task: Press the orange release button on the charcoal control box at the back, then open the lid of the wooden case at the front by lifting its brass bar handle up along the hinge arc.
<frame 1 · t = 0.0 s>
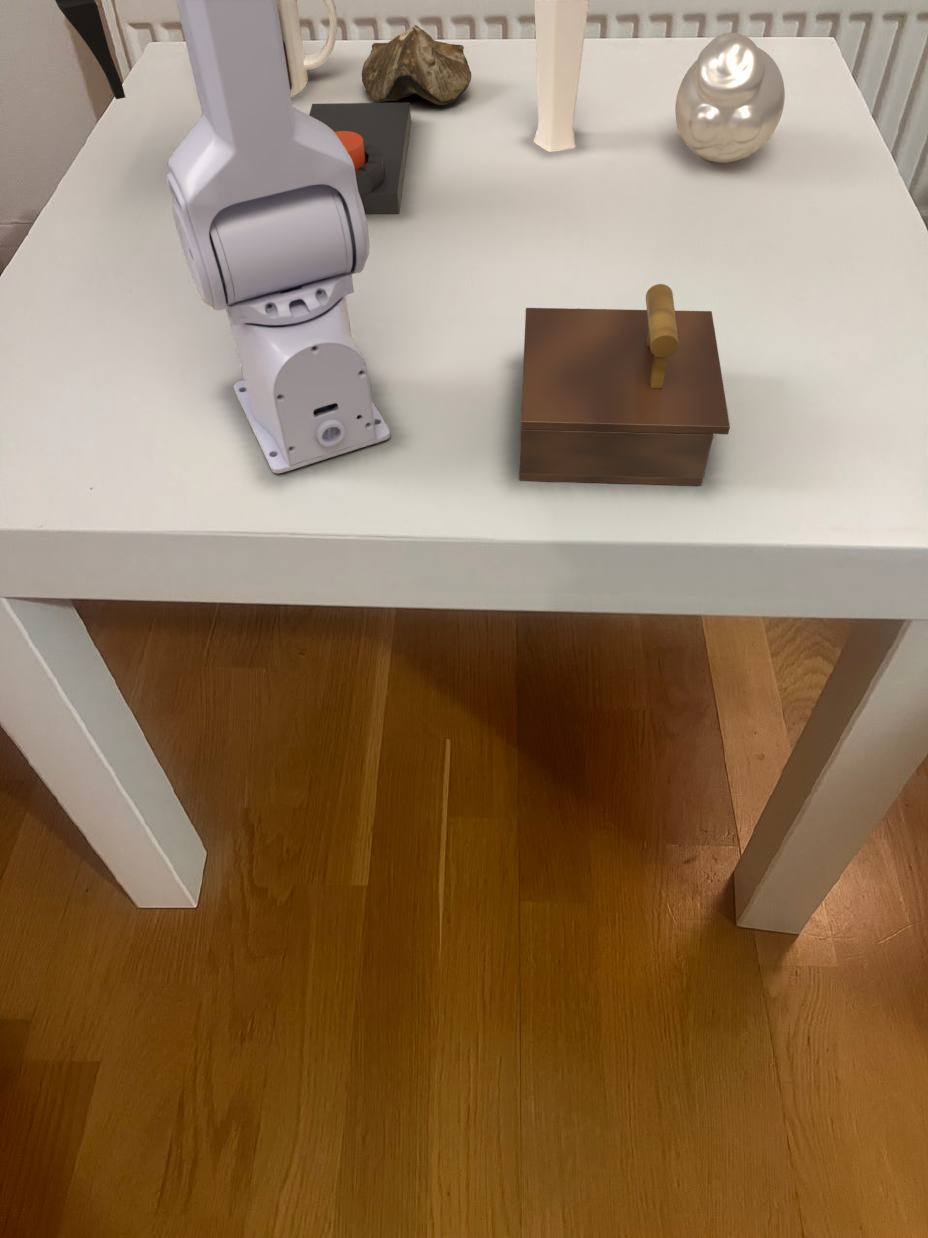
hand: (169, 82, 70), 10 cm above the table, tool pointing down, fingers open, 7 cm apart
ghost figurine: (717, 160, 82), on the table
wooden case: (607, 422, 61), on the table
fossilized seashell: (416, 99, 90), on the table
release button: (342, 152, 76), point 4 cm above the table, slide at 0.1 cm
mug: (269, 87, 93), on the table
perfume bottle: (557, 143, 84), on the table
control box: (354, 166, 82), on the table
case lid: (624, 340, 56), point 6 cm above the table, hinge at 0.0°
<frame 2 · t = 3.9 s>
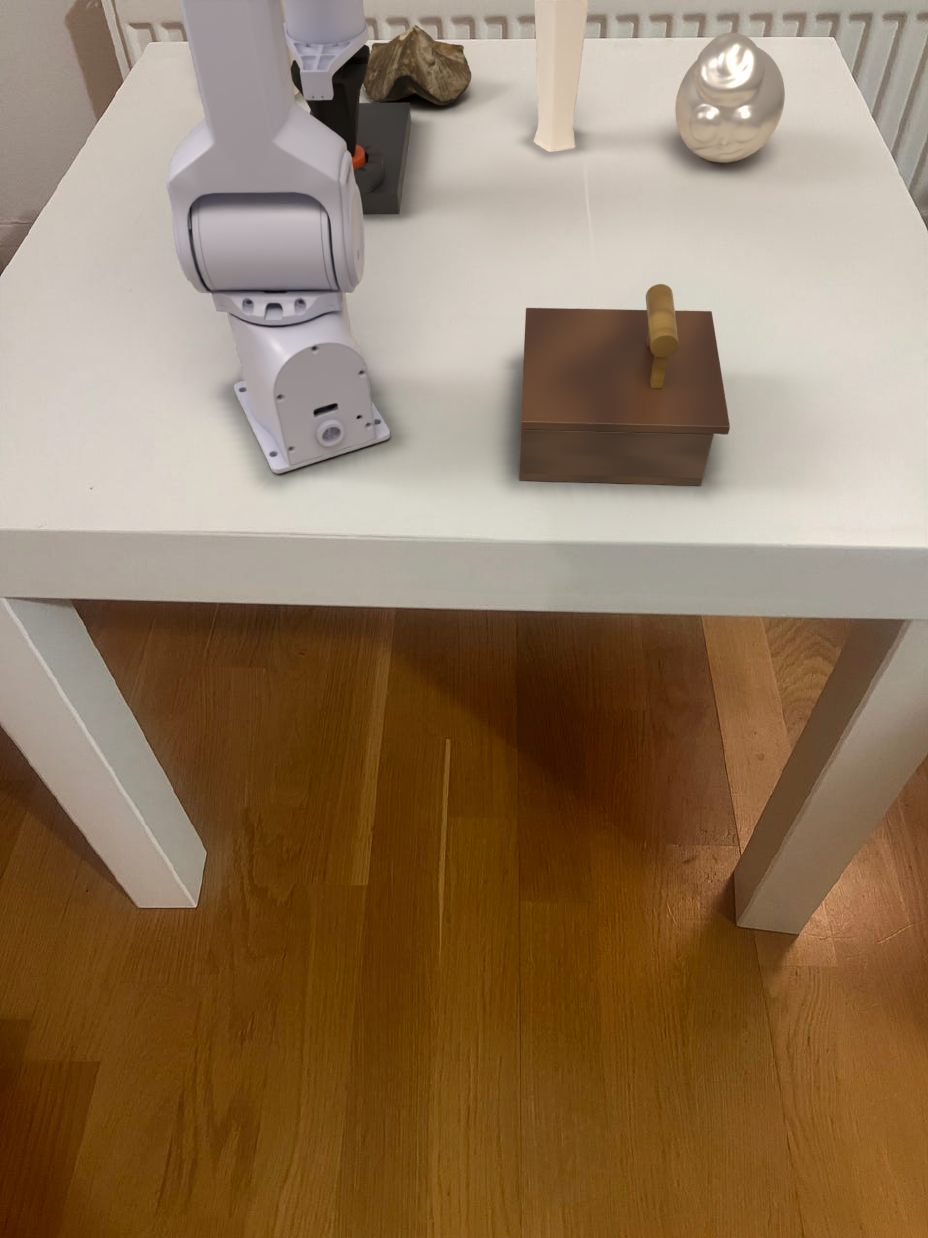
hand: (342, 153, 76), 4 cm above the table, tool pointing down, fingers closed, pressing on release button
release button: (343, 163, 77), point 3 cm above the table, slide at -0.8 cm, touching gripper
everything else where it was.
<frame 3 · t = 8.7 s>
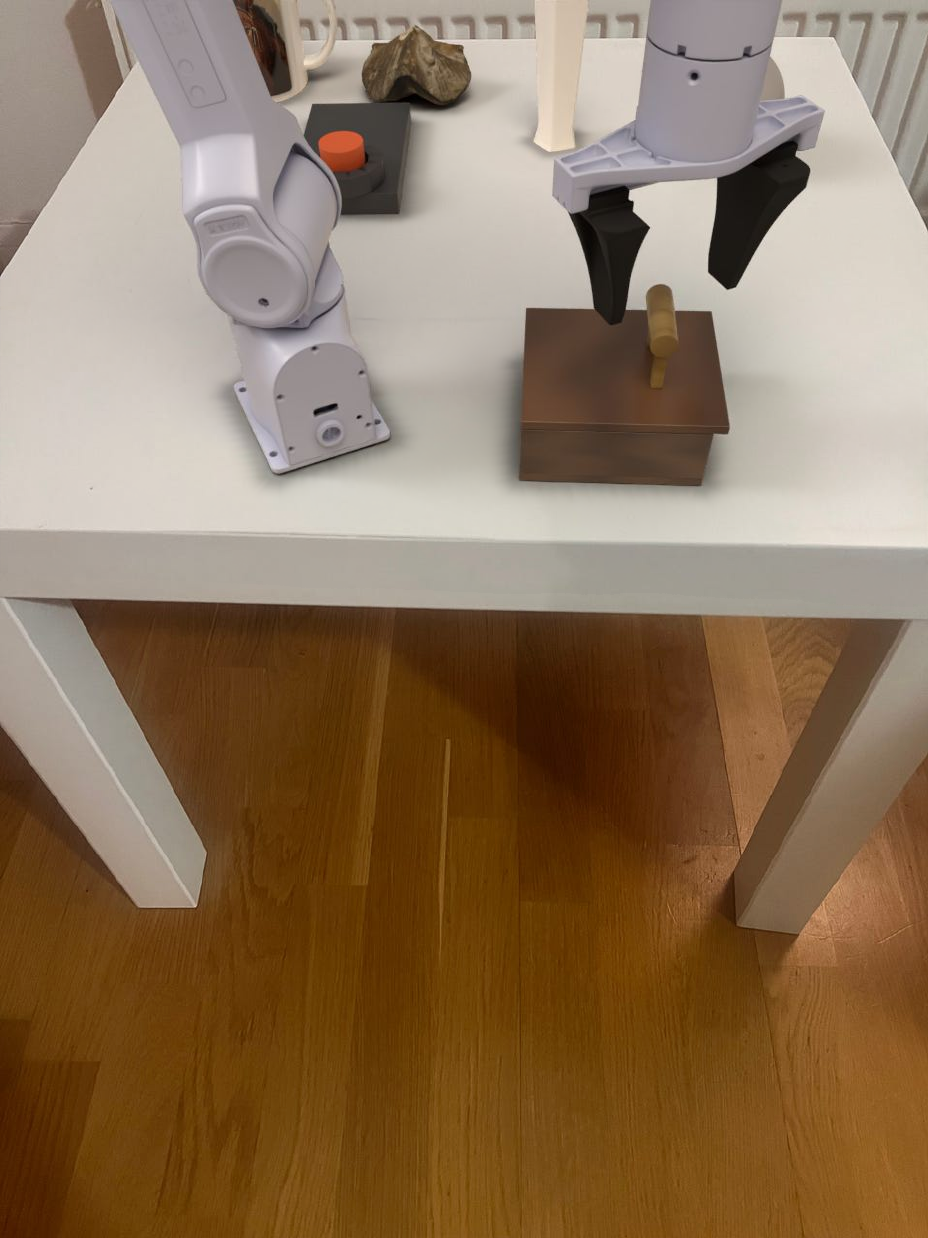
hand: (665, 296, 54), 9 cm above the table, tool pointing down, fingers open, 7 cm apart
release button: (342, 152, 76), point 4 cm above the table, slide at 0.1 cm
everything else where it was.
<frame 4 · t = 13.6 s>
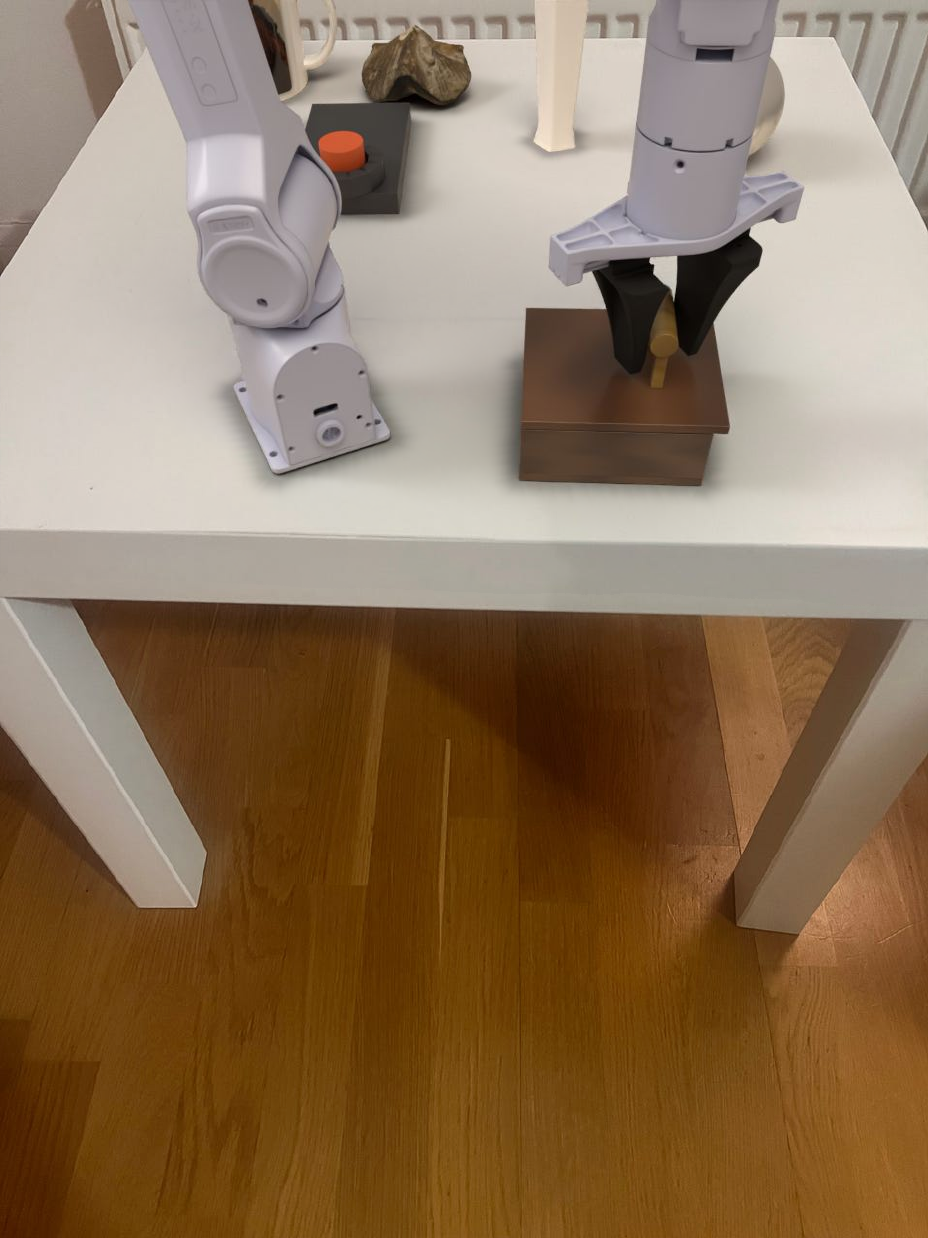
hand: (656, 354, 57), 5 cm above the table, tool pointing down, fingers closed on case lid, 3 cm apart
case lid: (624, 340, 56), point 6 cm above the table, hinge at 0.1°, touching gripper
everything else where it was.
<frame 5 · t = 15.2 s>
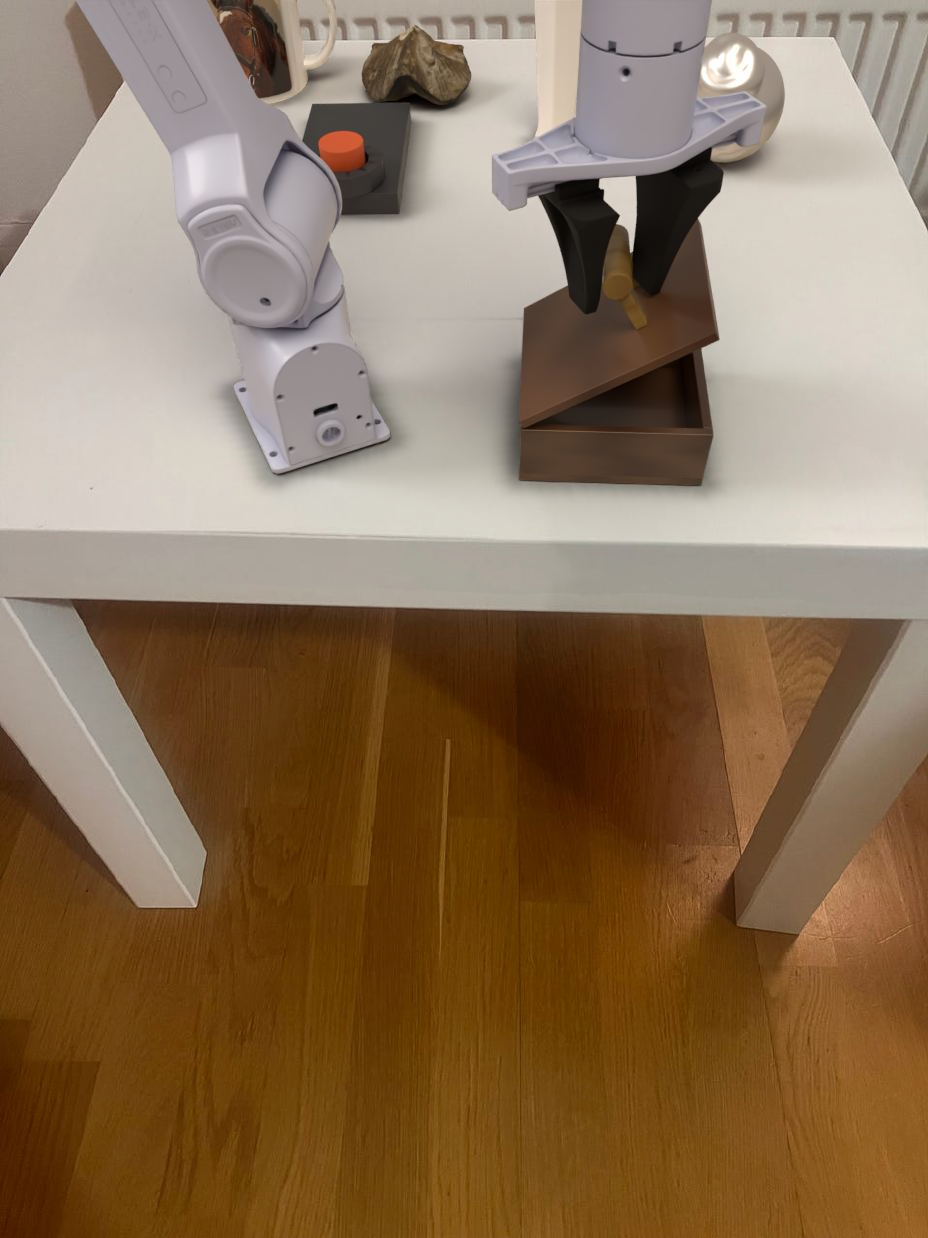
hand: (615, 294, 54), 10 cm above the table, tool pointing down, fingers closed on case lid, 3 cm apart
case lid: (595, 297, 54), point 9 cm above the table, hinge at 32.3°, touching gripper
everything else where it was.
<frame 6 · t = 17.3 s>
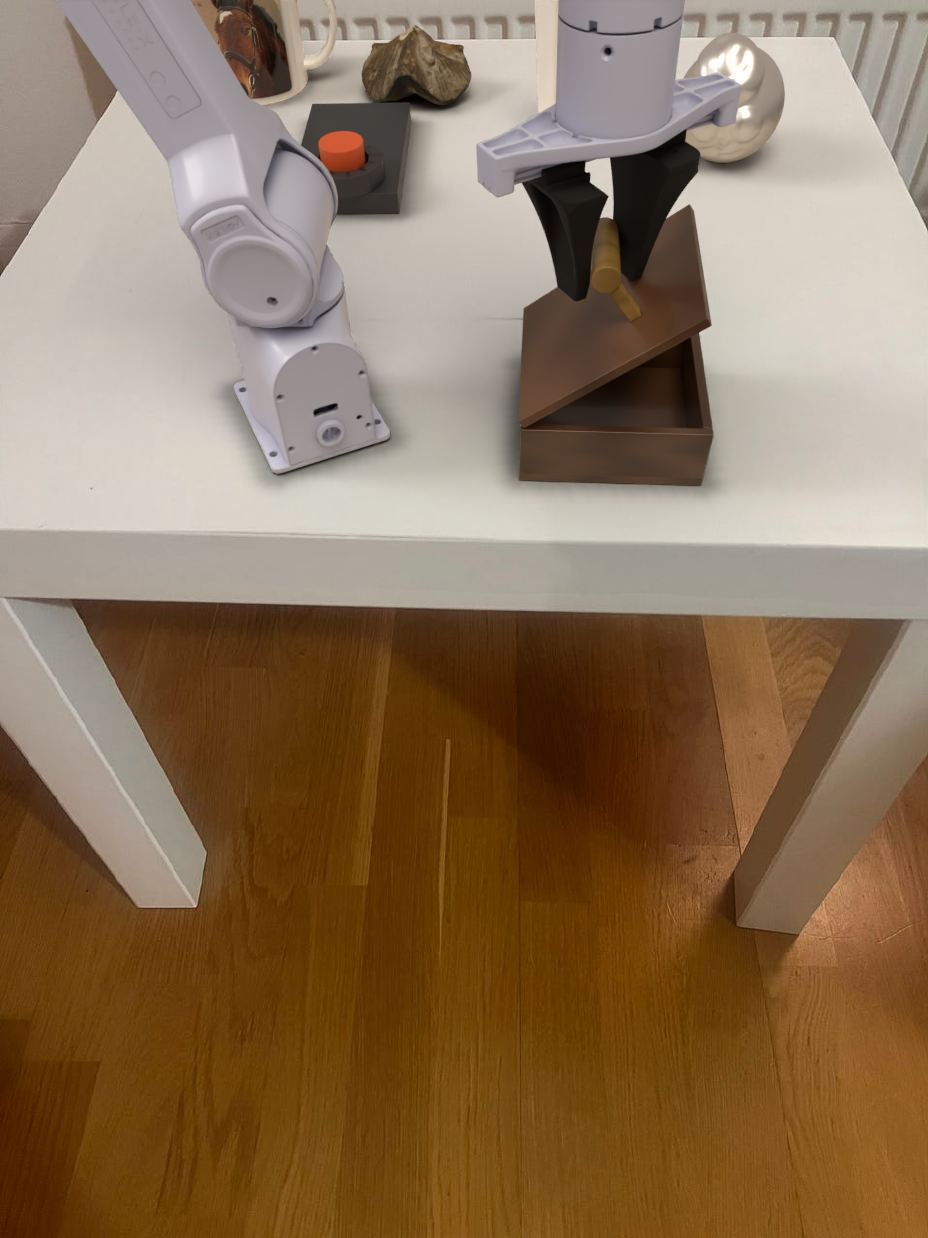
hand: (601, 281, 54), 10 cm above the table, tool pointing down, fingers closed on case lid, 3 cm apart
case lid: (588, 292, 54), point 10 cm above the table, hinge at 37.2°, touching gripper
everything else where it was.
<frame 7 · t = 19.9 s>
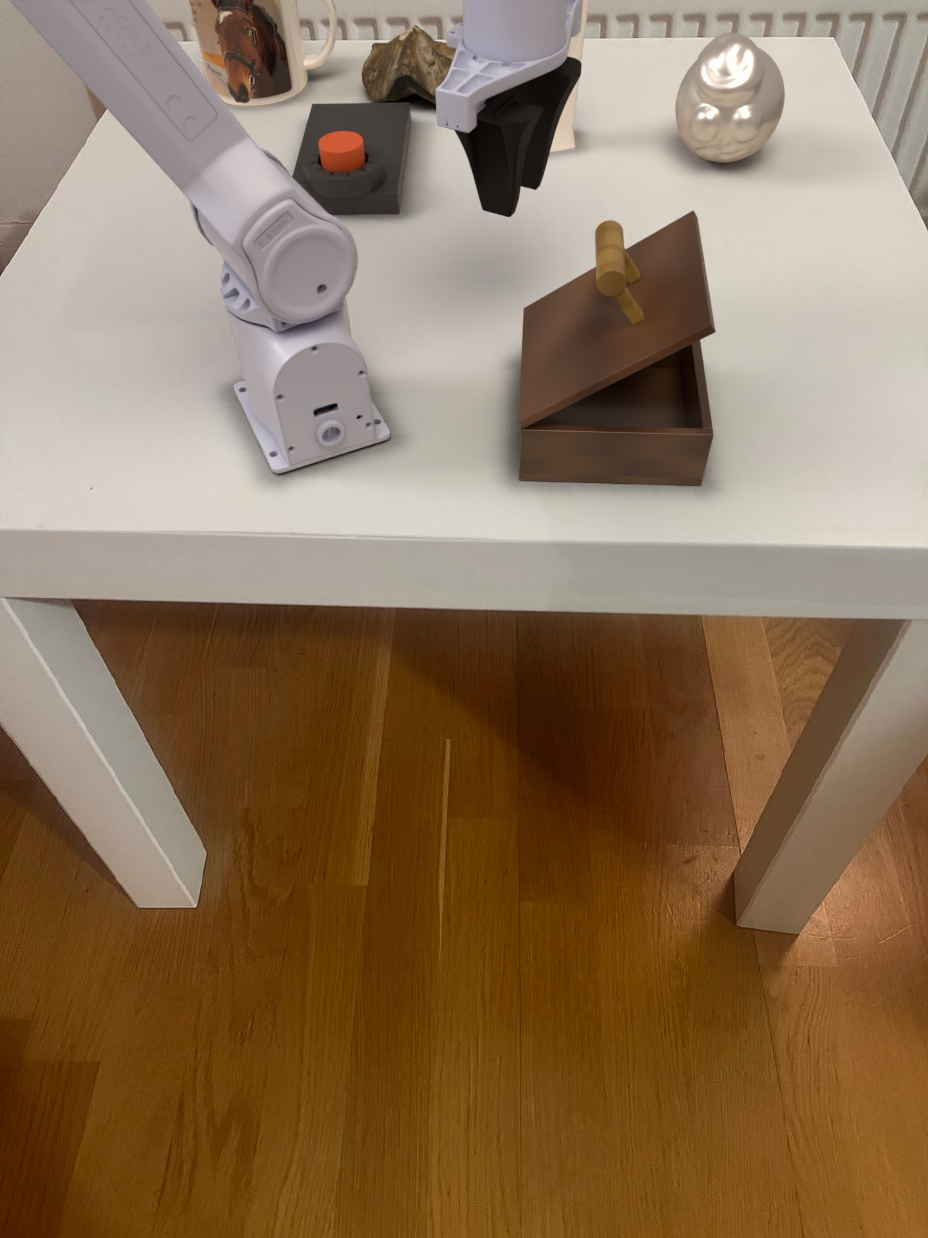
hand: (511, 197, 60), 10 cm above the table, tool pointing down, fingers open, 3 cm apart
case lid: (591, 294, 54), point 9 cm above the table, hinge at 34.9°
everything else where it was.
at the end: release button pushed in 1.0 cm at the most during the clip, back to where it started at the end; release button slide at 0.1 cm; case lid at +35° (first picture: +0°) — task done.
